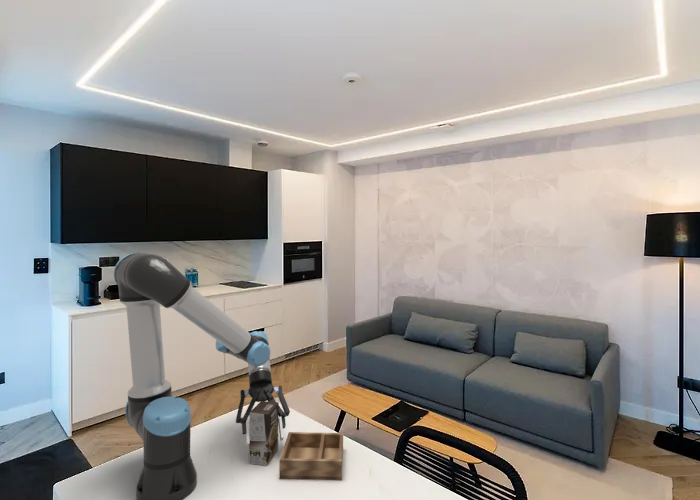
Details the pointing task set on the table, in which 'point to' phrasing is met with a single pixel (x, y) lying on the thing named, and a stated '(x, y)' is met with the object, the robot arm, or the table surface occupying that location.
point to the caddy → (312, 456)
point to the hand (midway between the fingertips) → (265, 441)
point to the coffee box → (263, 432)
